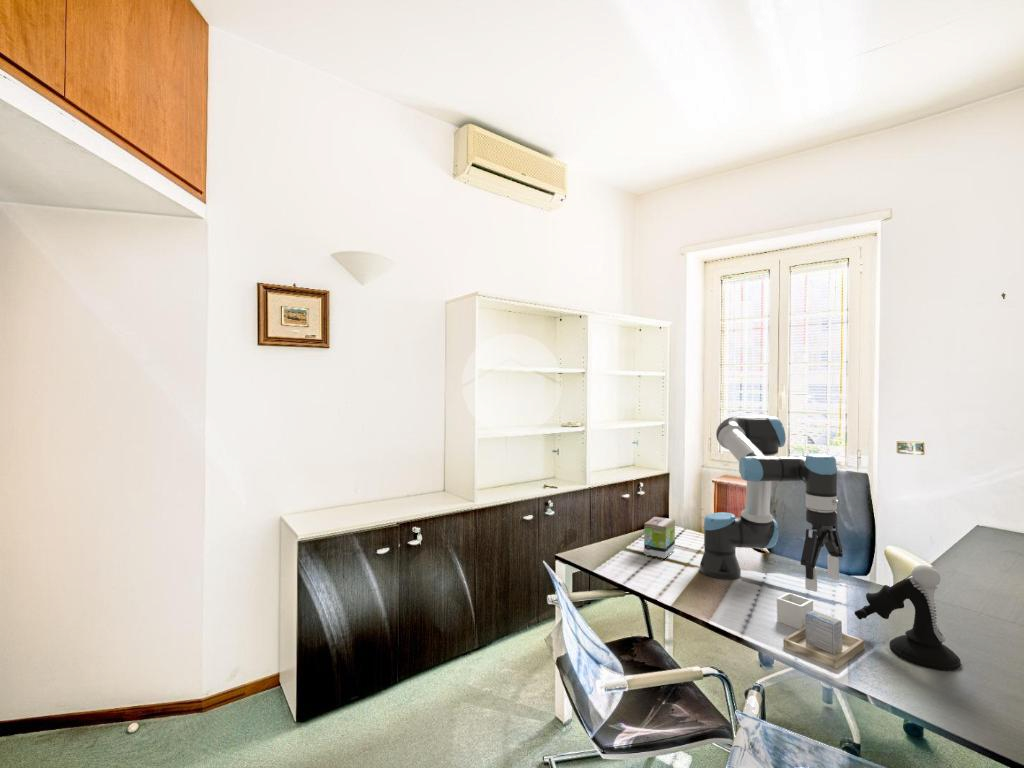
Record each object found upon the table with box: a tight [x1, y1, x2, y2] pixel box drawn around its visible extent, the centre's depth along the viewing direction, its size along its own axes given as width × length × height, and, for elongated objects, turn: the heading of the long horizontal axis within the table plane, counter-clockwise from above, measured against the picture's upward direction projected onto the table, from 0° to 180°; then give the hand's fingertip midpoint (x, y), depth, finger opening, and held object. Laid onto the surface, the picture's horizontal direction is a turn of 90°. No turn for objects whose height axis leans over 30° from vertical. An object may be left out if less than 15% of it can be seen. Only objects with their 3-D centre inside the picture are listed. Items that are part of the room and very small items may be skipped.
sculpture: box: [854, 564, 962, 672], centre depth 139 cm, size 15×24×25 cm, turn 41°
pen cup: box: [776, 592, 814, 630], centre depth 154 cm, size 7×7×8 cm
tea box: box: [643, 516, 676, 559], centre depth 222 cm, size 15×10×15 cm
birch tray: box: [783, 626, 865, 670], centre depth 139 cm, size 14×18×3 cm
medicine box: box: [805, 609, 843, 655], centre depth 139 cm, size 8×4×9 cm, turn 30°
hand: (822, 584), depth 139 cm, fingers open, 13 cm apart
